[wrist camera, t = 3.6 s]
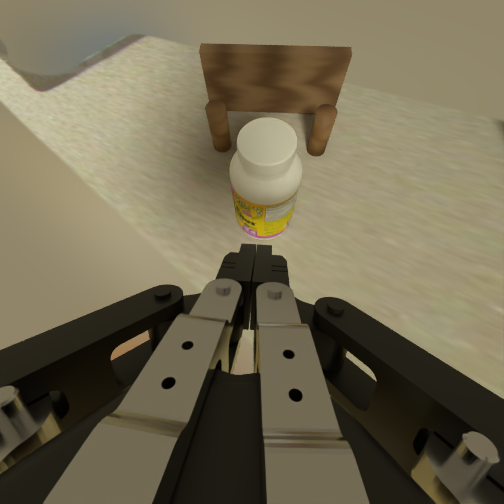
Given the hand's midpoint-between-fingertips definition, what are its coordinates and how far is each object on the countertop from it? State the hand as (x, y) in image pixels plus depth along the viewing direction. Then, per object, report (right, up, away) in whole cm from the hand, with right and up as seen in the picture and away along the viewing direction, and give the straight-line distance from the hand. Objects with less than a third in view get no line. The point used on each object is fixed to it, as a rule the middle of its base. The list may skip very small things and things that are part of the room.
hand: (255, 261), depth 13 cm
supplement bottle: (+1, +5, +19) cm, 19 cm away
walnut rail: (+3, +22, +25) cm, 33 cm away
